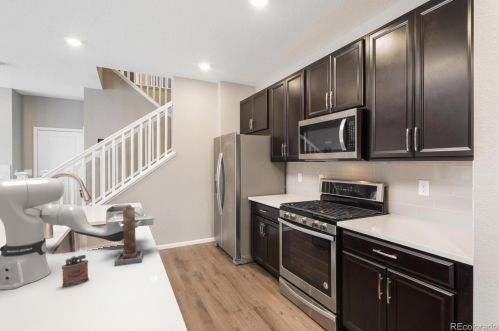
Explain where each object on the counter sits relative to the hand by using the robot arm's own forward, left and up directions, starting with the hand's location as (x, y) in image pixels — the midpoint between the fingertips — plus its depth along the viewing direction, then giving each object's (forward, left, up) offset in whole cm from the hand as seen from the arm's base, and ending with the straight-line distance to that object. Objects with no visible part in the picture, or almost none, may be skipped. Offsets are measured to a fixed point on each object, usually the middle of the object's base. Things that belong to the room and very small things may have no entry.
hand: (128, 226), depth 113 cm
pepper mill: (0, +1, -15) cm, 15 cm away
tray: (0, +1, -16) cm, 16 cm away
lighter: (-16, -16, -16) cm, 28 cm away
